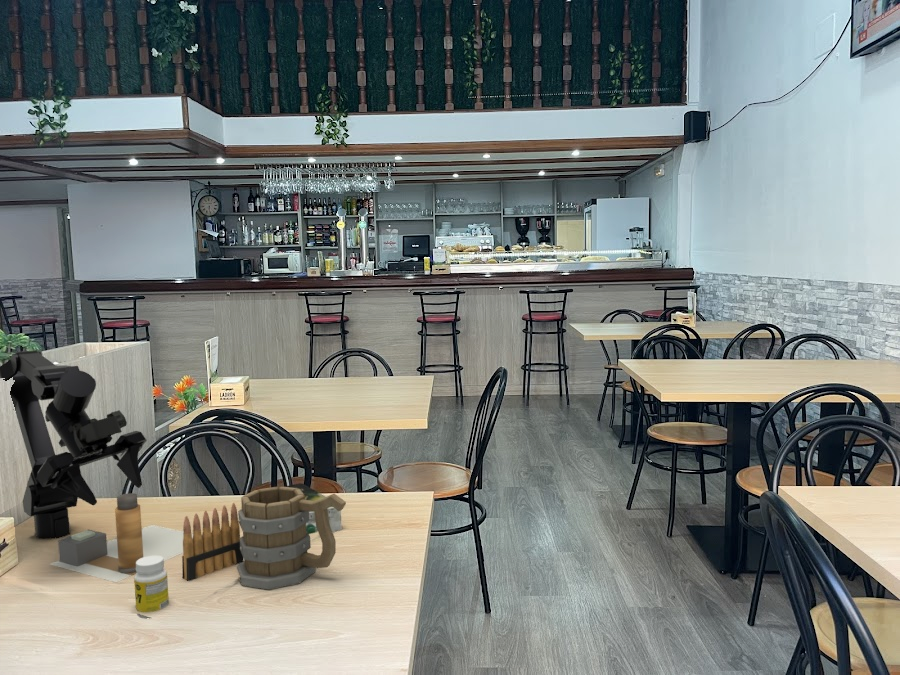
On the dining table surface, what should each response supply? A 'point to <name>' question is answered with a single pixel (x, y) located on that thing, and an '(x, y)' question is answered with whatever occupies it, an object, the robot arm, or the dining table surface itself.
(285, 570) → the tankard
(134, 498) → the tan cylinder
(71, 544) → the grey cube-like block
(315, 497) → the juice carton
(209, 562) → the ammunition clip
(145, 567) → the supplement bottle
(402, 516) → the dining table surface
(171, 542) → the floor panel
